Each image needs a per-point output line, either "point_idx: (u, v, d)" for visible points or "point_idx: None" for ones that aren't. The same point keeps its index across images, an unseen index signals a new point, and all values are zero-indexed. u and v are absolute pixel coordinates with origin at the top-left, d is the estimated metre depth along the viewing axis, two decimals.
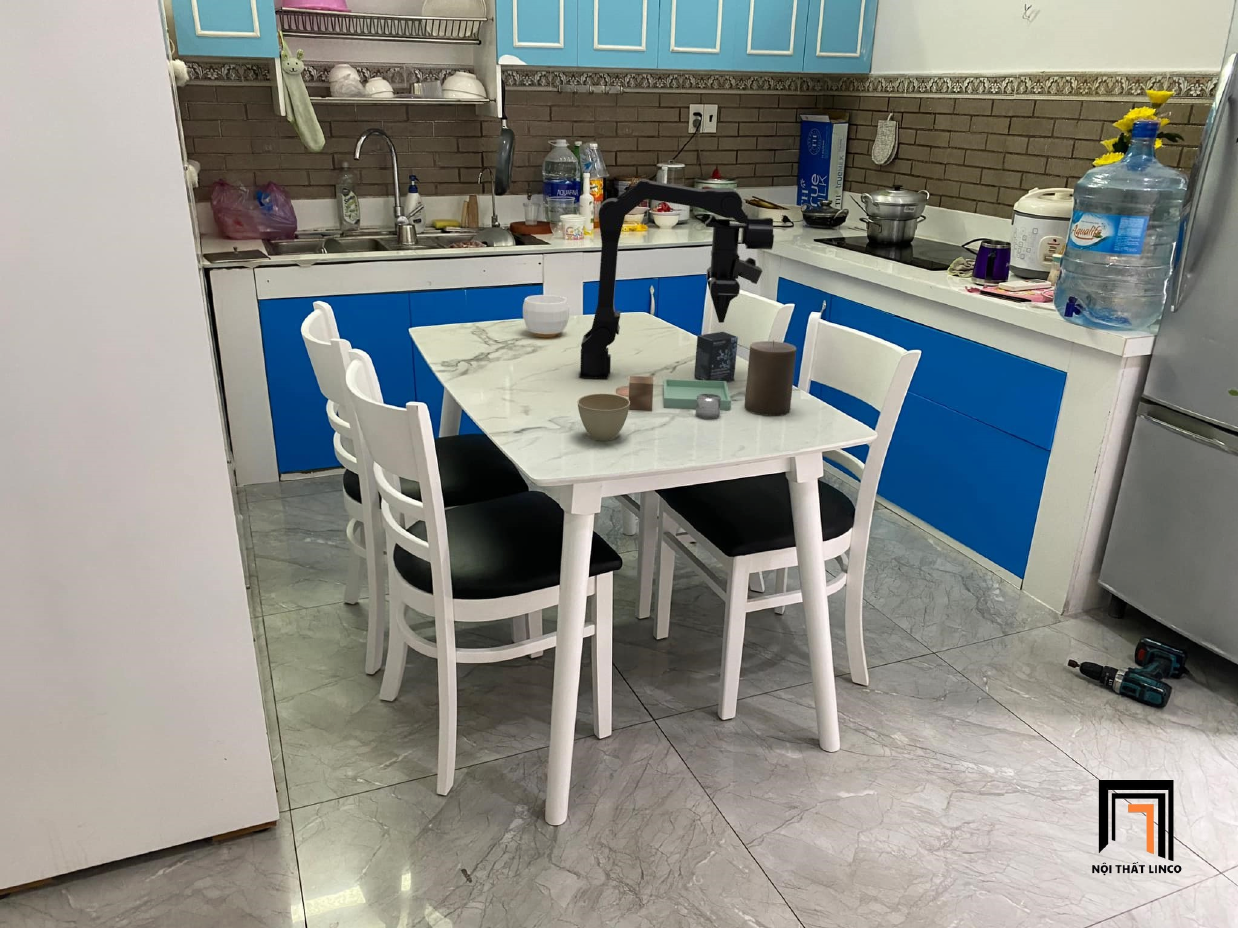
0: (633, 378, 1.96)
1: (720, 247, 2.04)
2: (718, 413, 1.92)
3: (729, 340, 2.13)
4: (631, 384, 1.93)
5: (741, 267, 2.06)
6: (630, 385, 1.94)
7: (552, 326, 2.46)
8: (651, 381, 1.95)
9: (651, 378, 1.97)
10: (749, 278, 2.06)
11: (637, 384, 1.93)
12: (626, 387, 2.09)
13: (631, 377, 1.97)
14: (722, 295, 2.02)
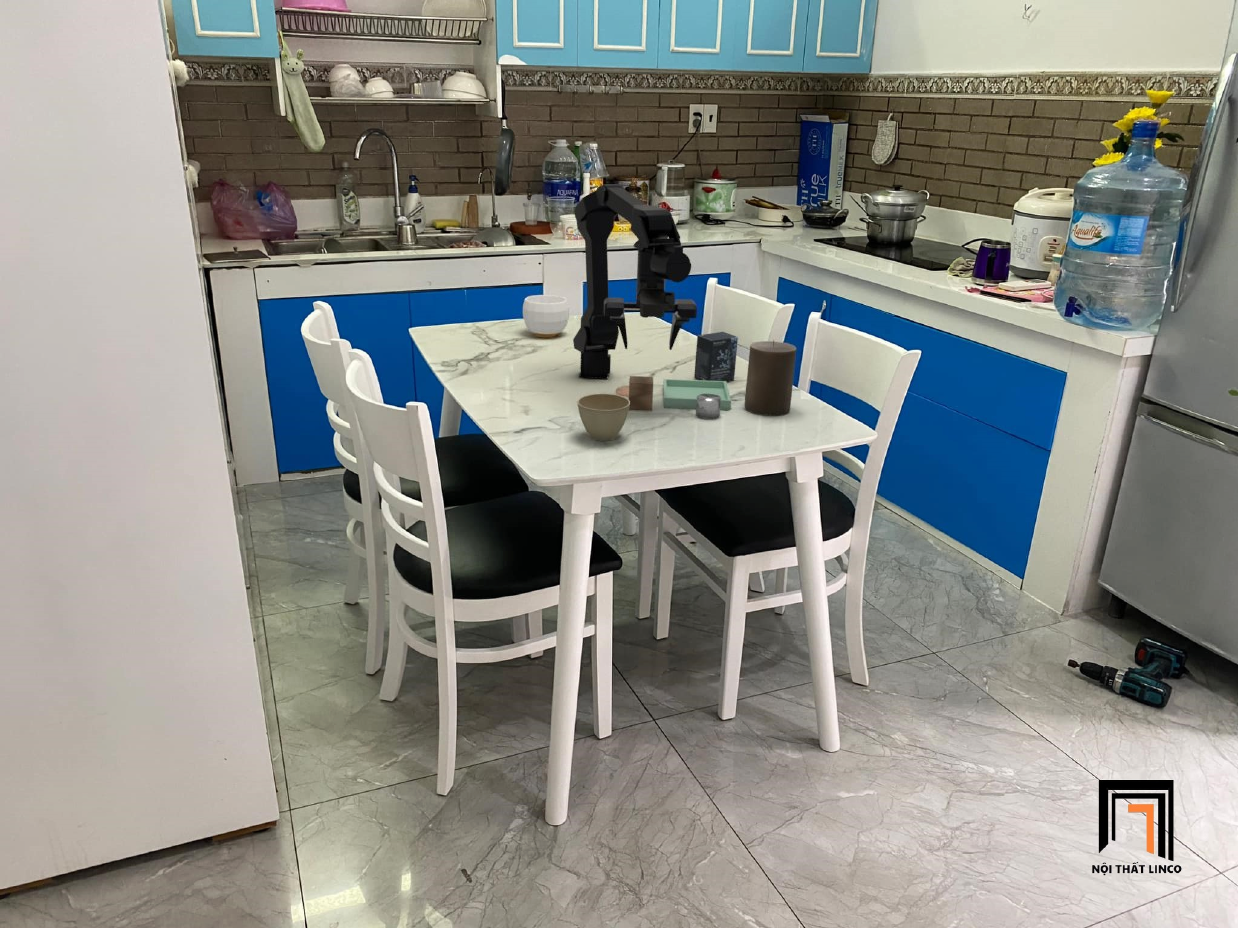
0: (633, 378, 1.96)
1: (637, 270, 1.88)
2: (718, 413, 1.92)
3: (729, 340, 2.13)
4: (631, 384, 1.93)
5: (639, 295, 1.86)
6: (630, 385, 1.94)
7: (552, 326, 2.46)
8: (651, 381, 1.95)
9: (651, 378, 1.97)
10: None
11: (637, 384, 1.93)
12: (626, 387, 2.09)
13: (631, 377, 1.97)
14: None
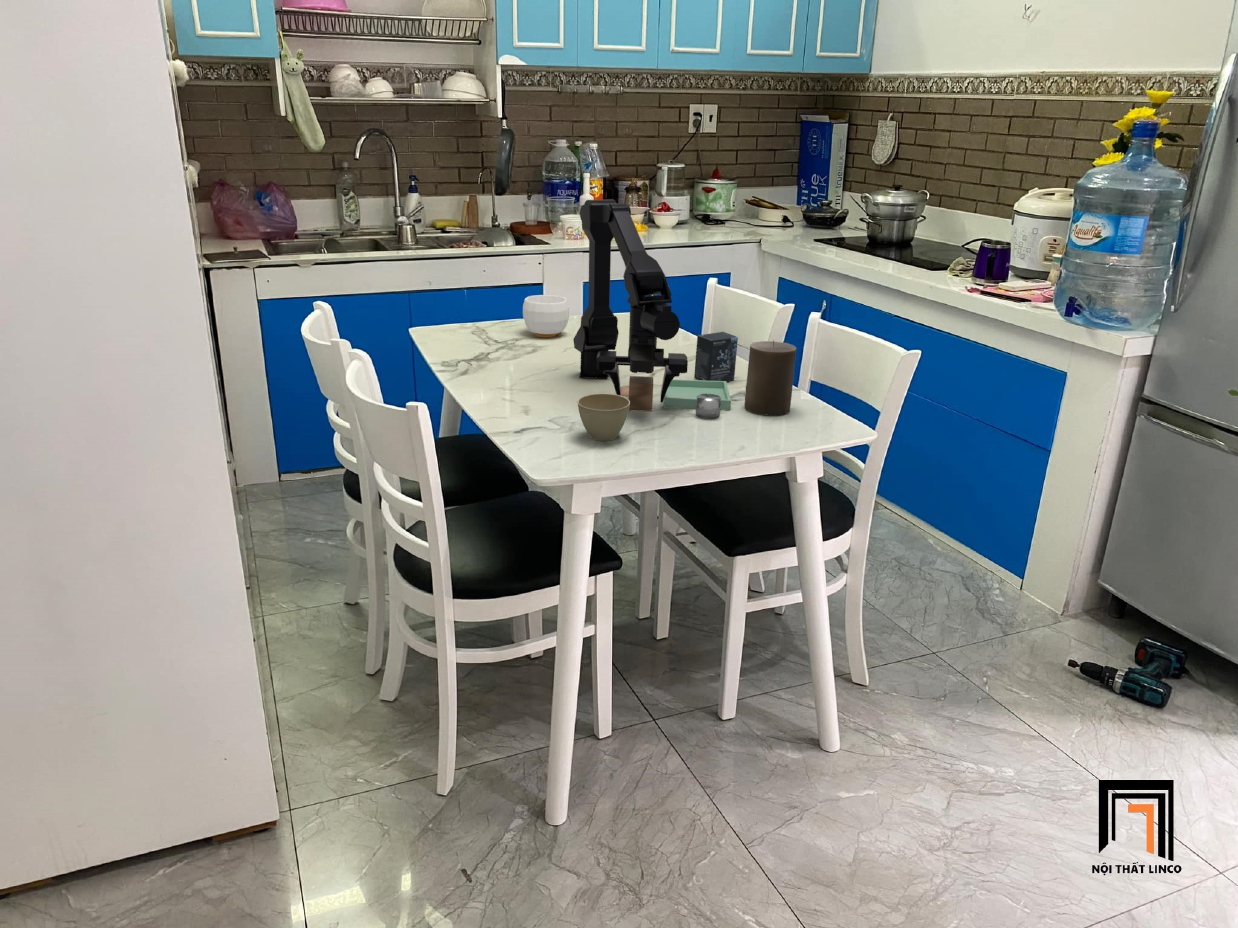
0: (633, 378, 1.96)
1: None
2: (718, 413, 1.92)
3: (729, 340, 2.13)
4: (631, 384, 1.93)
5: (630, 350, 1.90)
6: (630, 385, 1.94)
7: (552, 326, 2.46)
8: (651, 381, 1.95)
9: (651, 378, 1.97)
10: None
11: (637, 384, 1.93)
12: (626, 387, 2.09)
13: (631, 377, 1.97)
14: None
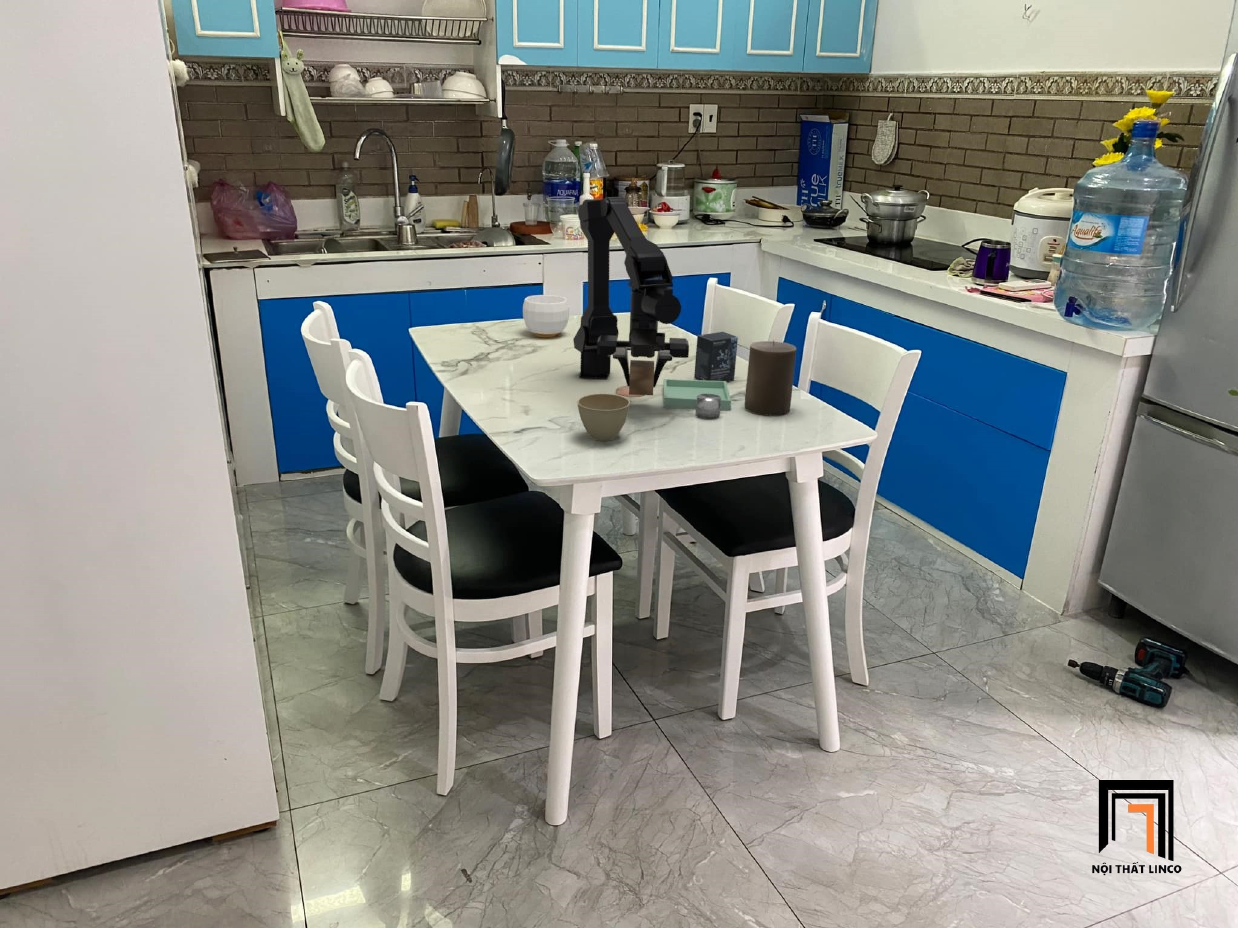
0: (633, 362, 1.95)
1: (630, 310, 1.90)
2: (718, 413, 1.92)
3: (729, 340, 2.13)
4: (632, 368, 1.92)
5: (631, 334, 1.88)
6: (631, 369, 1.92)
7: (552, 326, 2.46)
8: (652, 365, 1.93)
9: (652, 362, 1.95)
10: None
11: (638, 368, 1.92)
12: (626, 387, 2.09)
13: (632, 361, 1.96)
14: None
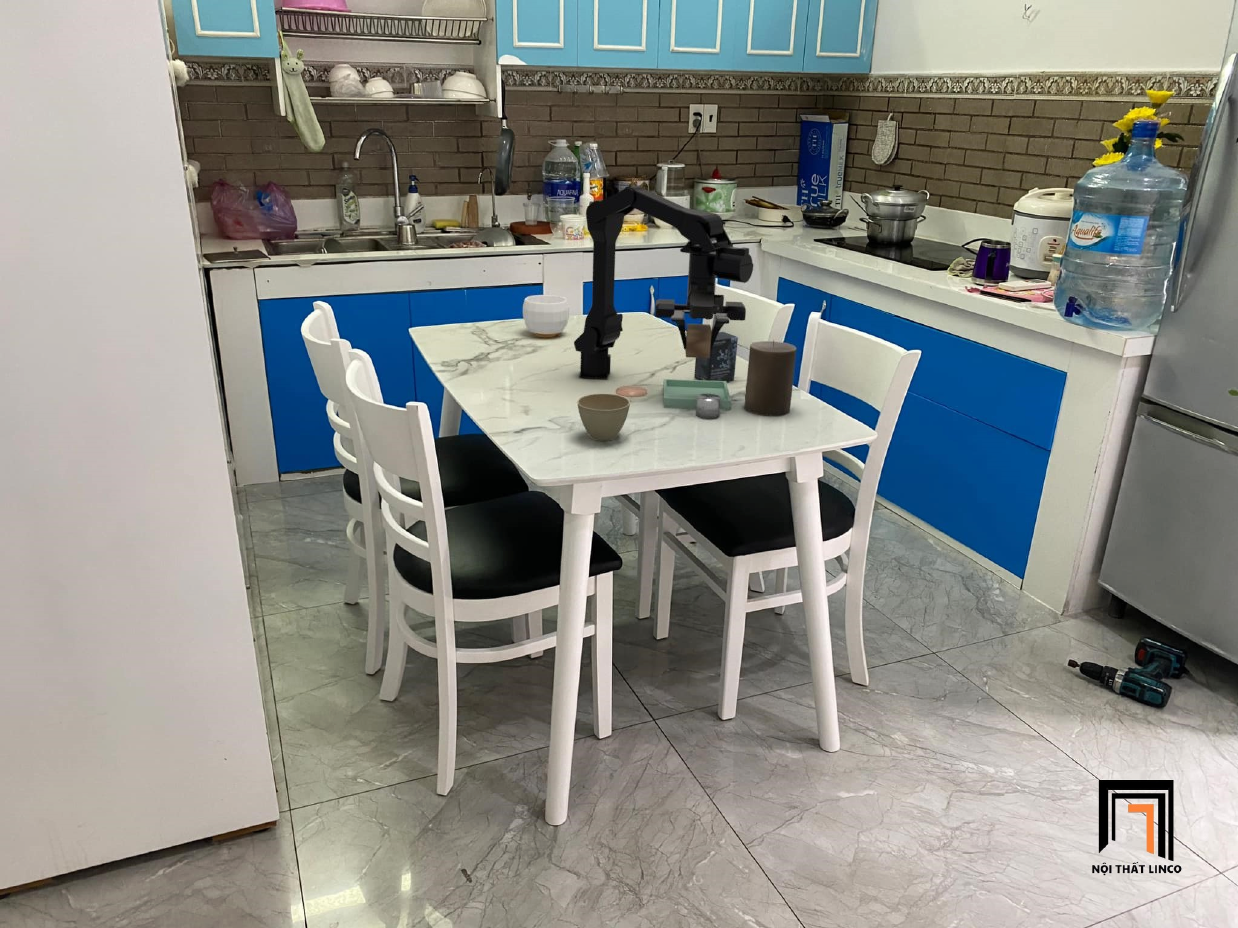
0: (690, 325, 1.99)
1: (690, 274, 1.92)
2: (718, 413, 1.92)
3: (729, 340, 2.13)
4: (689, 331, 1.96)
5: (689, 297, 1.92)
6: (688, 331, 1.96)
7: (552, 326, 2.46)
8: (709, 328, 1.97)
9: (708, 325, 1.99)
10: None
11: (695, 330, 1.96)
12: (626, 387, 2.09)
13: (688, 325, 1.99)
14: None
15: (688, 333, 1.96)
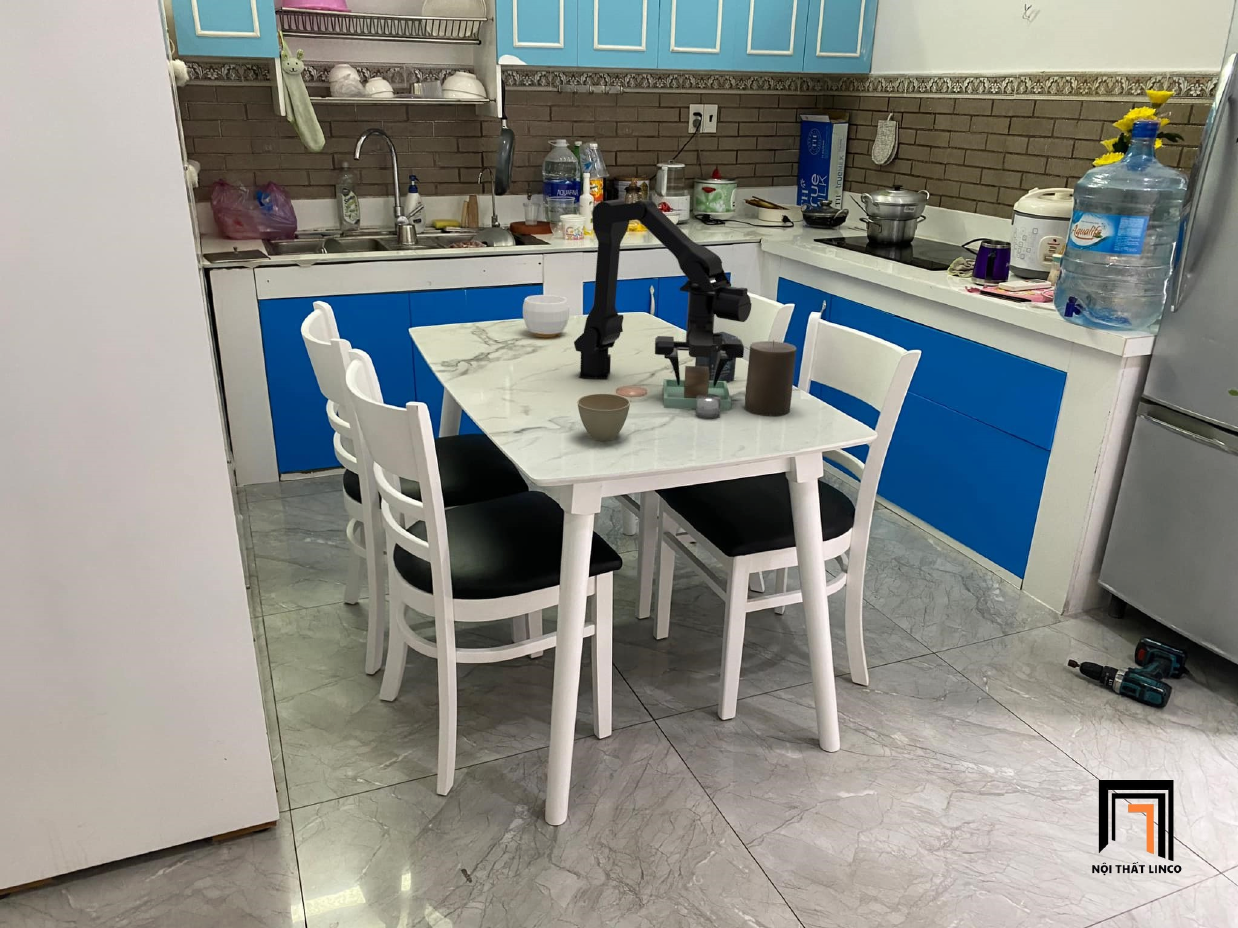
0: (689, 368, 2.02)
1: (690, 313, 1.96)
2: (718, 413, 1.92)
3: None
4: (688, 374, 1.99)
5: (689, 335, 1.95)
6: (687, 374, 2.00)
7: (552, 326, 2.46)
8: (707, 371, 2.01)
9: (706, 368, 2.03)
10: None
11: (694, 373, 1.99)
12: (626, 387, 2.09)
13: (687, 367, 2.03)
14: None
15: (687, 376, 2.00)
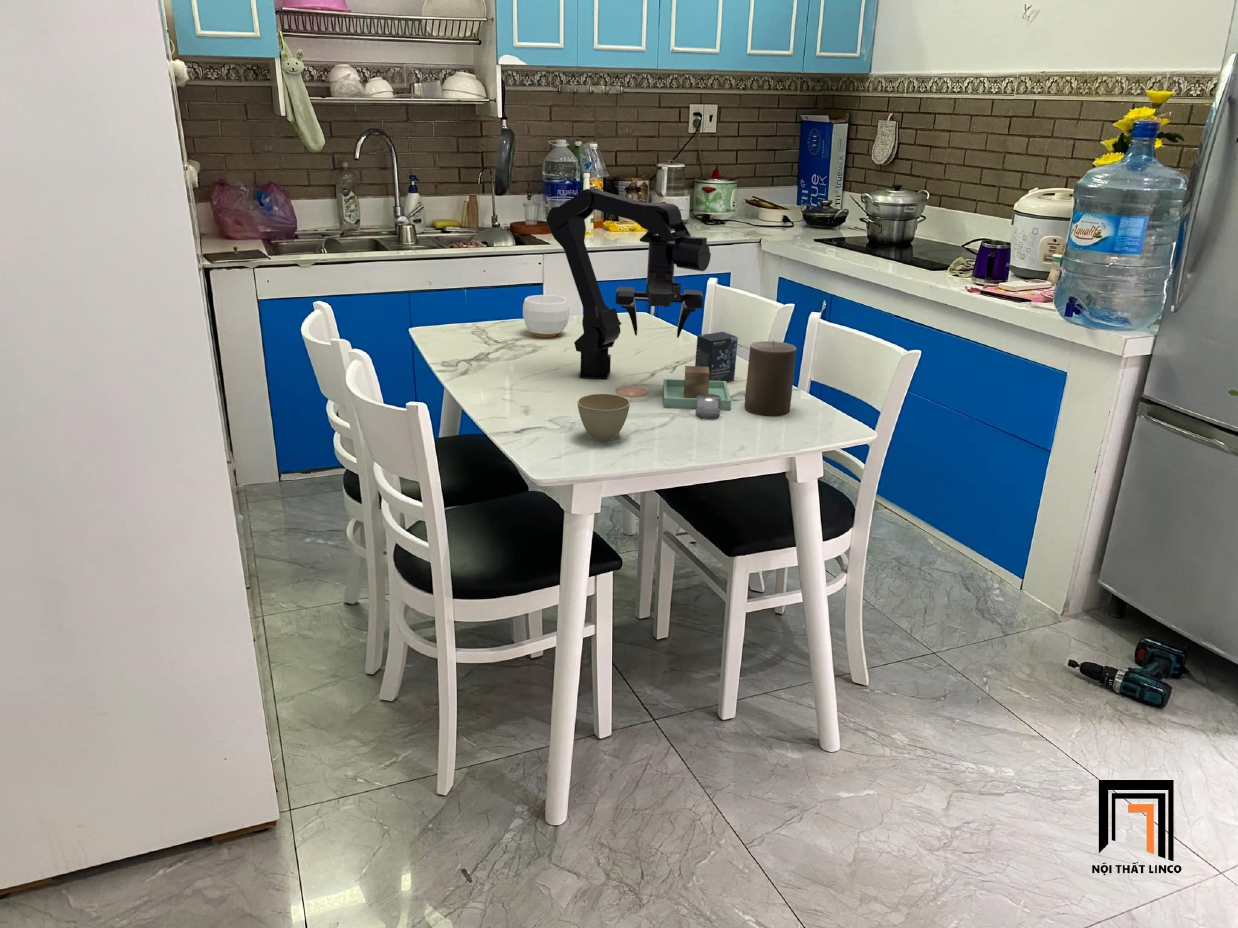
0: (689, 368, 2.02)
1: (650, 263, 1.99)
2: (718, 413, 1.92)
3: (729, 340, 2.13)
4: (688, 374, 1.99)
5: (648, 285, 1.98)
6: (687, 374, 2.00)
7: (552, 326, 2.46)
8: (707, 371, 2.01)
9: (706, 368, 2.03)
10: None
11: (694, 373, 1.99)
12: (626, 387, 2.09)
13: (687, 367, 2.03)
14: None
15: (687, 376, 2.00)
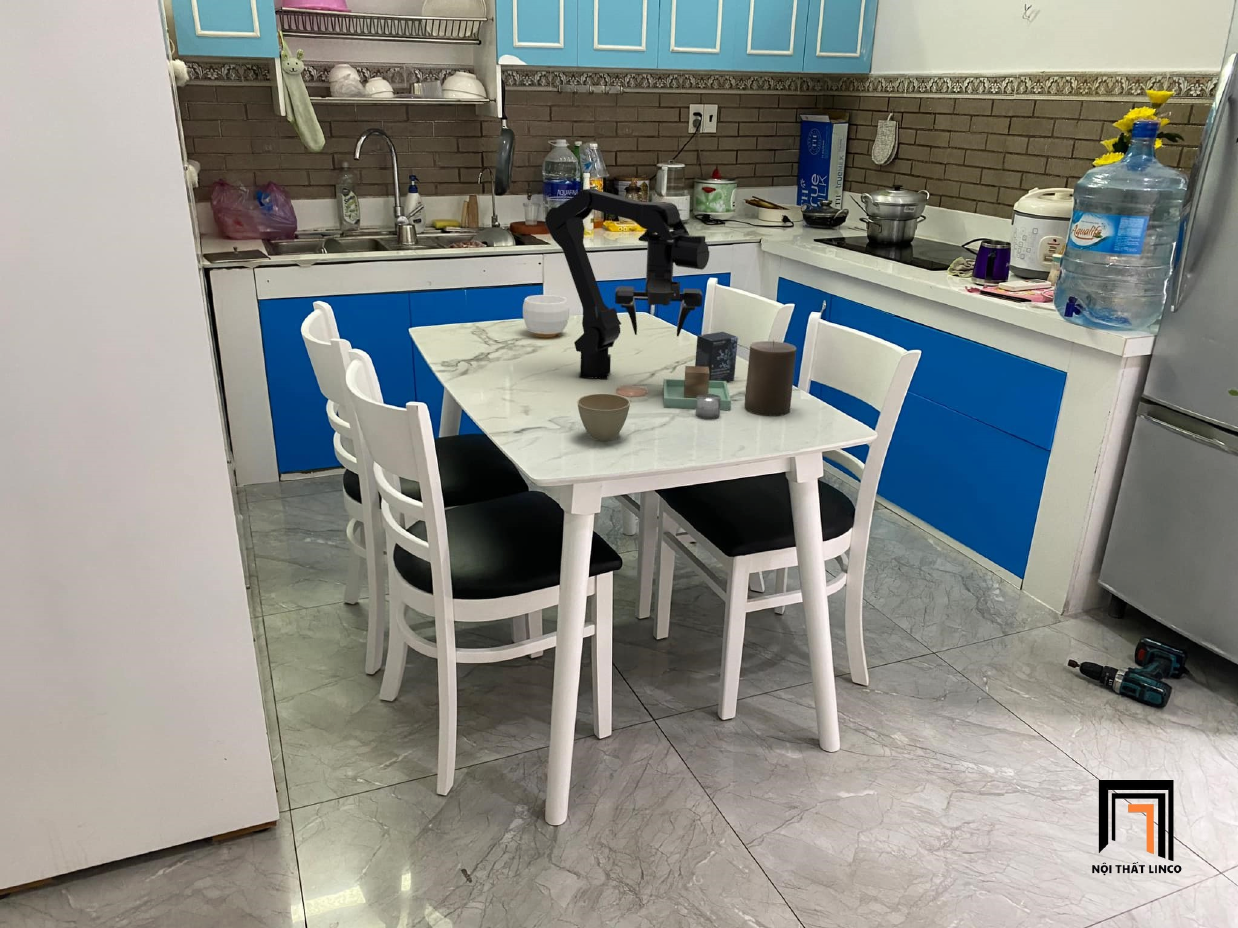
0: (689, 368, 2.02)
1: (649, 262, 1.99)
2: (718, 413, 1.92)
3: (729, 340, 2.13)
4: (688, 374, 1.99)
5: (648, 284, 1.98)
6: (687, 374, 2.00)
7: (552, 326, 2.46)
8: (707, 371, 2.01)
9: (706, 368, 2.03)
10: None
11: (694, 373, 1.99)
12: (626, 387, 2.09)
13: (687, 367, 2.03)
14: None
15: (687, 376, 2.00)
